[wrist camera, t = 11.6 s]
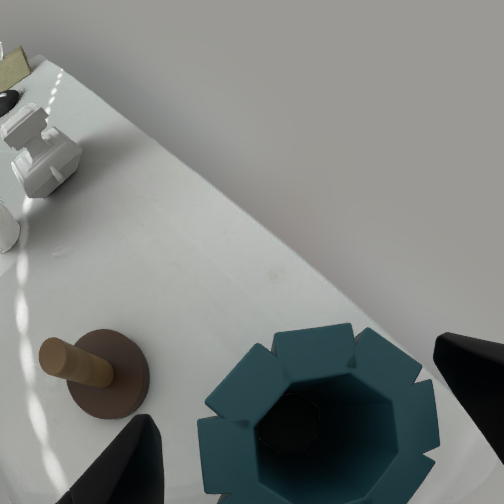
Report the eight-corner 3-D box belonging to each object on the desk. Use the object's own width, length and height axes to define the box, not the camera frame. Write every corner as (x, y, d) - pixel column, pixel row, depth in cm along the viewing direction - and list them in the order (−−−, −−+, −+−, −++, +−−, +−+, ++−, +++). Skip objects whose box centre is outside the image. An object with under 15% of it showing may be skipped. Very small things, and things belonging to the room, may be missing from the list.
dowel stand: (162, 405, 15) (117, 401, 10) (87, 426, 14) (24, 424, 9) (134, 321, 17) (88, 282, 12) (66, 347, 16) (8, 318, 11)
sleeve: (346, 461, 13) (442, 505, 4) (239, 476, 13) (213, 556, 4) (334, 365, 16) (417, 309, 7) (230, 377, 16) (191, 338, 7)
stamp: (98, 172, 24) (62, 100, 17) (46, 220, 22) (-4, 156, 14) (64, 144, 27) (35, 87, 20) (22, 183, 25) (-15, 129, 17)
